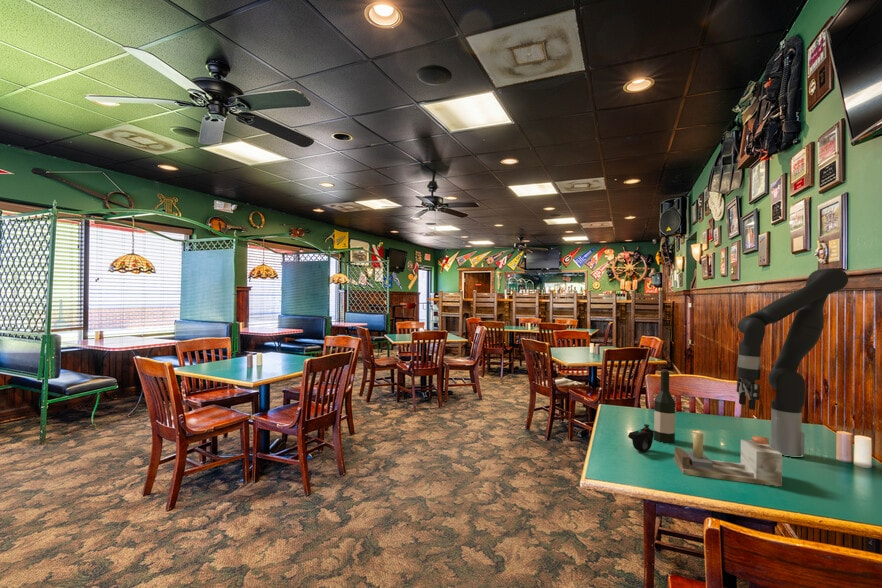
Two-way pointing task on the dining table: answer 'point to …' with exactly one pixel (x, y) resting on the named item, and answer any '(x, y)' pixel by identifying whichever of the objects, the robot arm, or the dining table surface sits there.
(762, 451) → the rail board
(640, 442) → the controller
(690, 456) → the carriage
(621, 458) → the dining table surface
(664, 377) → the wine bottle
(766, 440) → the button
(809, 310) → the robot arm
